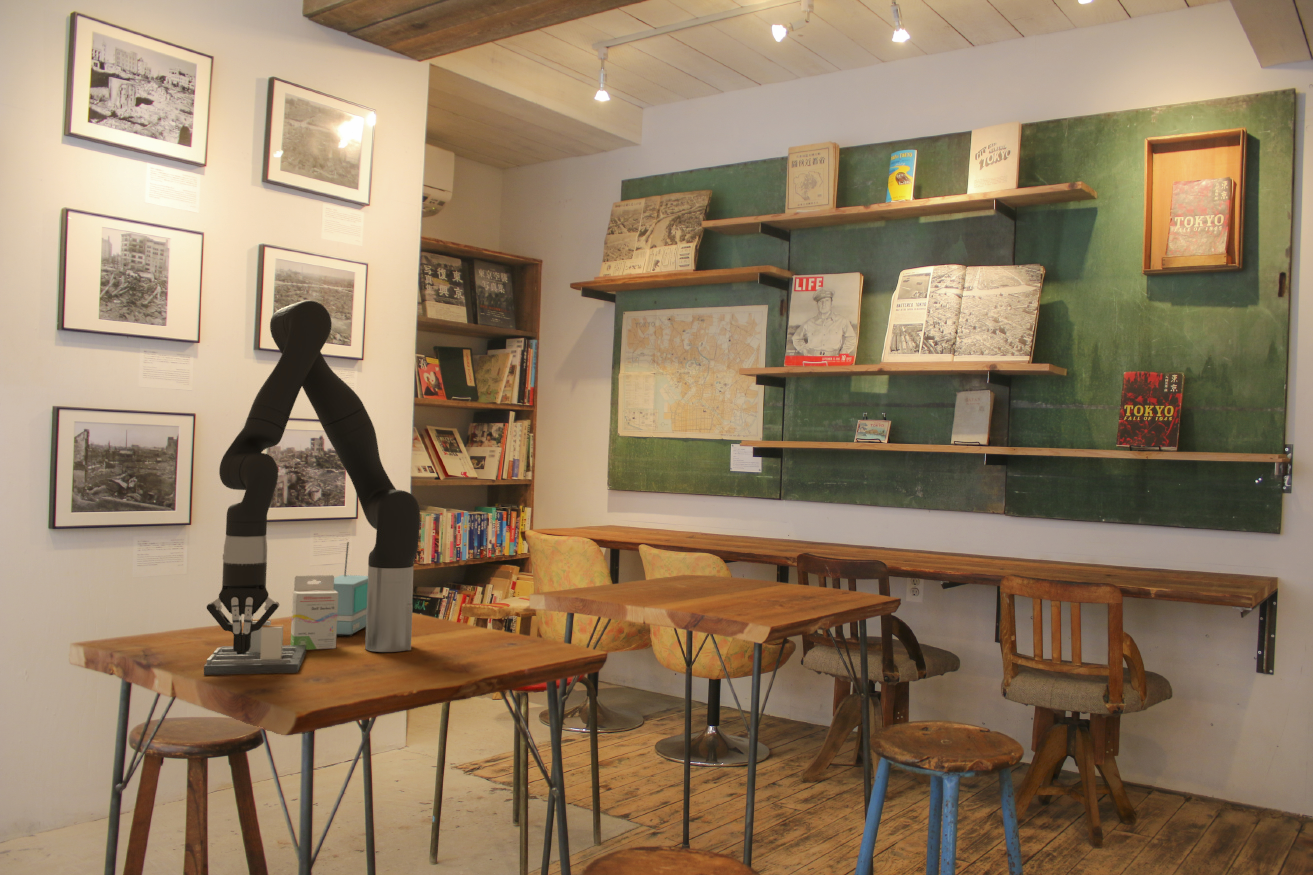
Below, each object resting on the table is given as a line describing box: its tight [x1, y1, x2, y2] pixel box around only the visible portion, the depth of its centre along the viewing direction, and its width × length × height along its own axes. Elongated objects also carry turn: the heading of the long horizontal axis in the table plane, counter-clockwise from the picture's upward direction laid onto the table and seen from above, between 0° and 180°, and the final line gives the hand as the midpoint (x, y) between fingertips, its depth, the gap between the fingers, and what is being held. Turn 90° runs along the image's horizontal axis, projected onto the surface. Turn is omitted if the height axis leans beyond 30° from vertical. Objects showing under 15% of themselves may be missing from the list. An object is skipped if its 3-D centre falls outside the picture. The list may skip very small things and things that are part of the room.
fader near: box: [260, 624, 284, 659], centre depth 188 cm, size 4×3×6 cm
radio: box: [318, 541, 368, 638], centre depth 230 cm, size 16×9×20 cm, turn 179°
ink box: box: [289, 574, 338, 651], centre depth 210 cm, size 9×5×15 cm, turn 117°
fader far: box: [249, 618, 272, 652], centre depth 194 cm, size 4×3×6 cm
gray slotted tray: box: [203, 644, 307, 676], centre depth 192 cm, size 16×19×2 cm
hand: (241, 653), depth 187 cm, fingers closed
